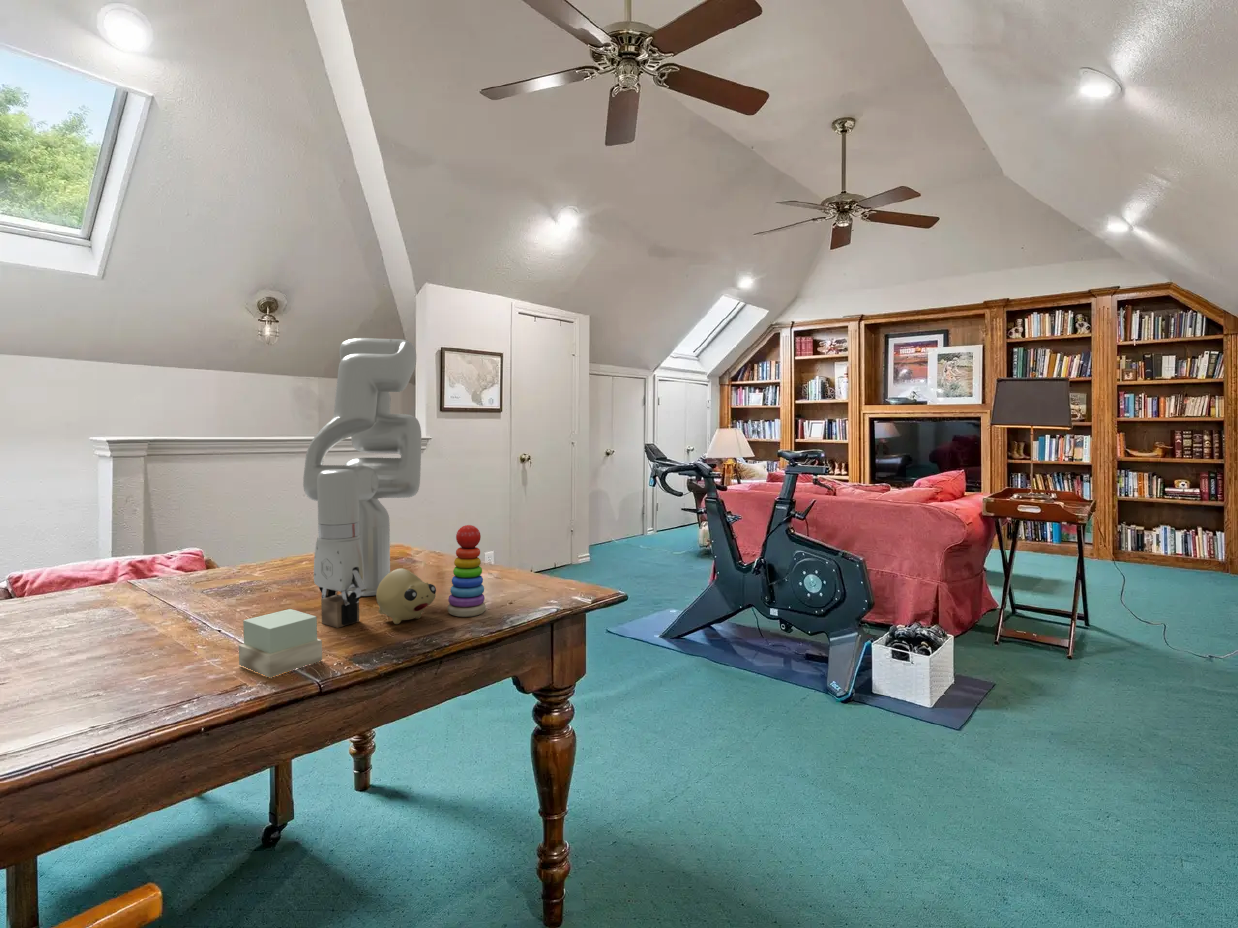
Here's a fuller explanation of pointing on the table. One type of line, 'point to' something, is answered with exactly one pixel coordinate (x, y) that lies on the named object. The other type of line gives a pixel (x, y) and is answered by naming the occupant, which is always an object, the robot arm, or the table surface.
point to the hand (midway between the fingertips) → (340, 619)
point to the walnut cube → (334, 610)
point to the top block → (280, 630)
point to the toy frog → (403, 595)
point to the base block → (280, 658)
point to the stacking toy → (467, 576)
